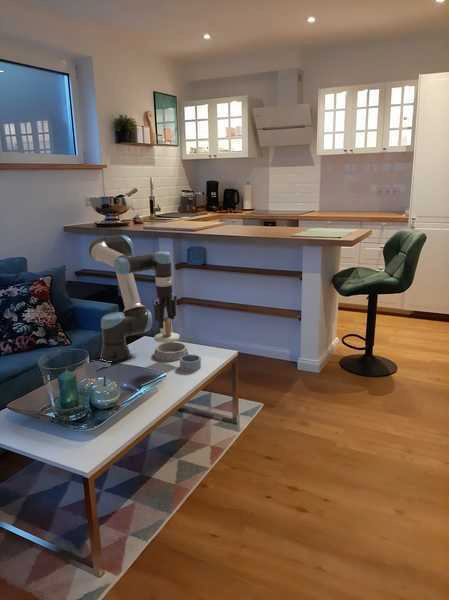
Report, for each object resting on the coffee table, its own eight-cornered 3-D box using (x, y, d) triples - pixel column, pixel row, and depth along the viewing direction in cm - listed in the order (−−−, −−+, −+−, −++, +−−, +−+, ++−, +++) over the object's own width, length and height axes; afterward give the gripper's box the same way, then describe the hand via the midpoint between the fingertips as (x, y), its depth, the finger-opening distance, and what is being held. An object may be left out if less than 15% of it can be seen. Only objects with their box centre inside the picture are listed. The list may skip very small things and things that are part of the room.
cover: (149, 339, 229) (147, 319, 226) (167, 333, 238) (166, 313, 235) (166, 344, 221) (165, 323, 219) (184, 337, 230) (183, 317, 228)
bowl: (176, 369, 234) (175, 359, 233) (189, 363, 242) (189, 353, 240) (191, 374, 228) (191, 363, 227) (204, 367, 236) (204, 357, 234)
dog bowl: (190, 350, 260) (190, 341, 258) (184, 363, 242) (184, 353, 241) (159, 349, 262) (159, 340, 260) (151, 362, 244) (150, 352, 242)
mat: (140, 371, 233) (140, 369, 233) (159, 362, 243) (159, 361, 243) (159, 377, 225) (159, 376, 225) (178, 368, 235) (178, 367, 235)
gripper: (156, 289, 214) (158, 339, 220) (182, 282, 227) (184, 329, 233) (144, 287, 219) (147, 336, 225) (171, 281, 232) (173, 327, 237)
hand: (166, 332), depth 229 cm, fingers closed on cover, 4 cm apart
